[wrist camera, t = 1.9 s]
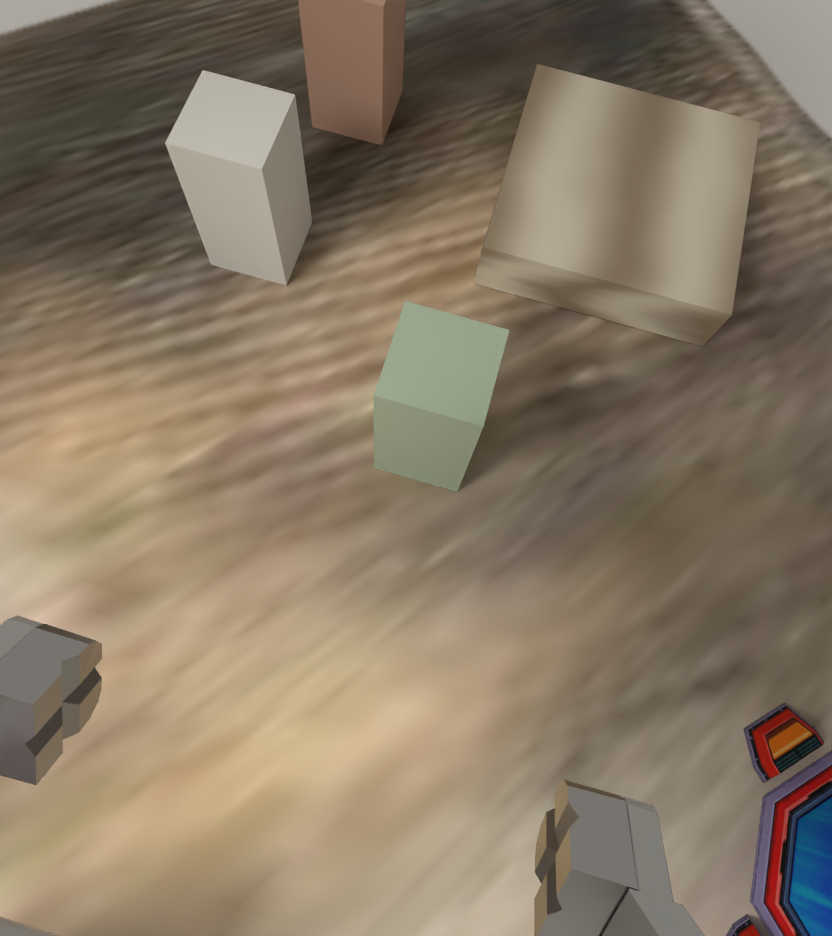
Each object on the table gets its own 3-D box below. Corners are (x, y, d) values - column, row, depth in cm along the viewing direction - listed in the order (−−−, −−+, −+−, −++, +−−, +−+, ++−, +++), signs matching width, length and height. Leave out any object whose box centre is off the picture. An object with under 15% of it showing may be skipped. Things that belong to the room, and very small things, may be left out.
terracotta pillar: (312, 126, 38) (296, -17, 30) (334, 74, 39) (324, -76, 32) (381, 145, 38) (383, 6, 30) (402, 92, 39) (408, -55, 31)
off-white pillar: (211, 264, 35) (165, 142, 27) (238, 202, 36) (202, 70, 28) (286, 285, 35) (261, 169, 27) (312, 222, 36) (295, 94, 28)
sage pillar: (373, 468, 32) (373, 395, 24) (398, 392, 33) (405, 301, 25) (457, 492, 32) (483, 426, 24) (478, 415, 33) (509, 330, 25)
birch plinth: (473, 283, 35) (482, 246, 32) (525, 110, 39) (537, 64, 36) (702, 346, 35) (732, 314, 32) (732, 164, 39) (760, 122, 36)
